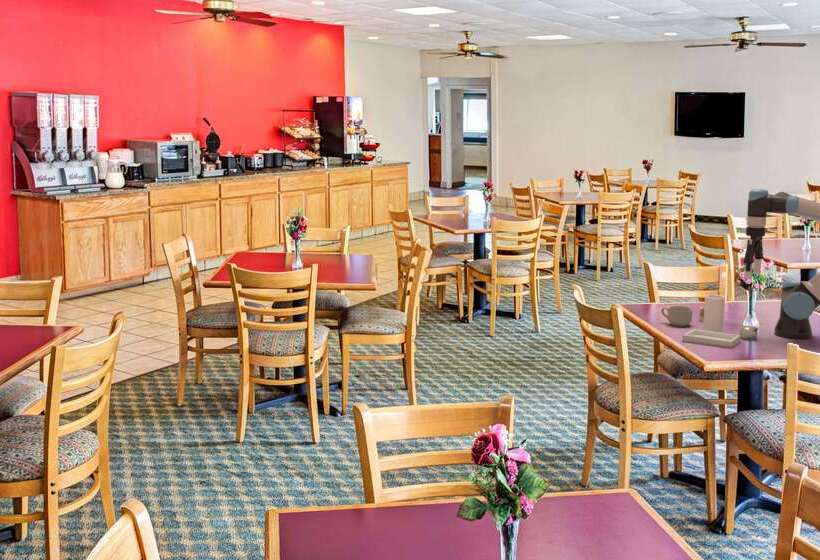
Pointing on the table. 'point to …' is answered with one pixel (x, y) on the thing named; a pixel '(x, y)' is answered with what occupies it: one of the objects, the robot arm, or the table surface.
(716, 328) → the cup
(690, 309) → the teacup
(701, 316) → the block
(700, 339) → the tray
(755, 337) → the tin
